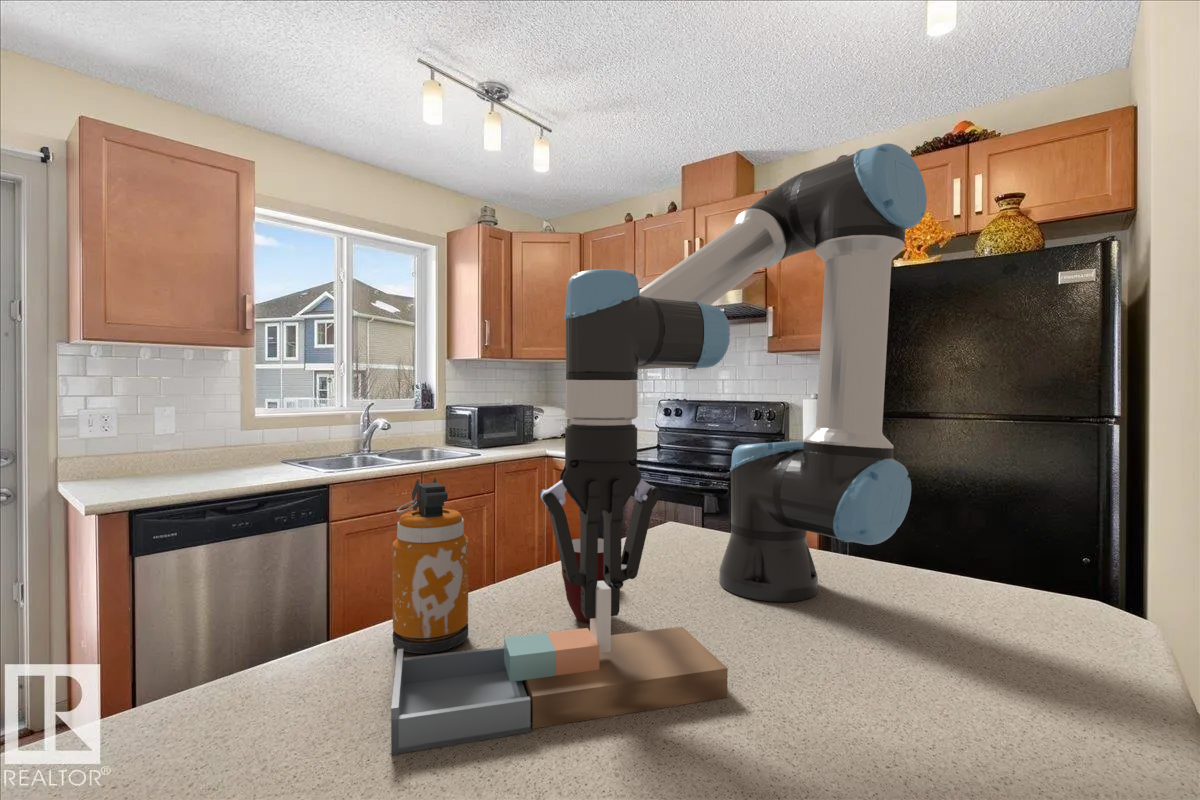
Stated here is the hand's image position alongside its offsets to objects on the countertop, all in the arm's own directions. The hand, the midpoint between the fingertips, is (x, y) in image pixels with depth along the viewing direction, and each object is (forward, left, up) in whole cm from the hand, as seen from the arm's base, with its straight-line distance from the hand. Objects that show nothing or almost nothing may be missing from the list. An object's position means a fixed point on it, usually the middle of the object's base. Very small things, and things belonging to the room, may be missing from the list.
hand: (600, 646), depth 62 cm
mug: (-4, -18, -5) cm, 19 cm away
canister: (+17, -18, -5) cm, 25 cm away
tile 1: (+7, 0, -1) cm, 8 cm away
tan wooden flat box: (-2, 0, -4) cm, 5 cm away
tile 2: (+3, 0, -1) cm, 3 cm away
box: (+14, 0, -4) cm, 15 cm away
